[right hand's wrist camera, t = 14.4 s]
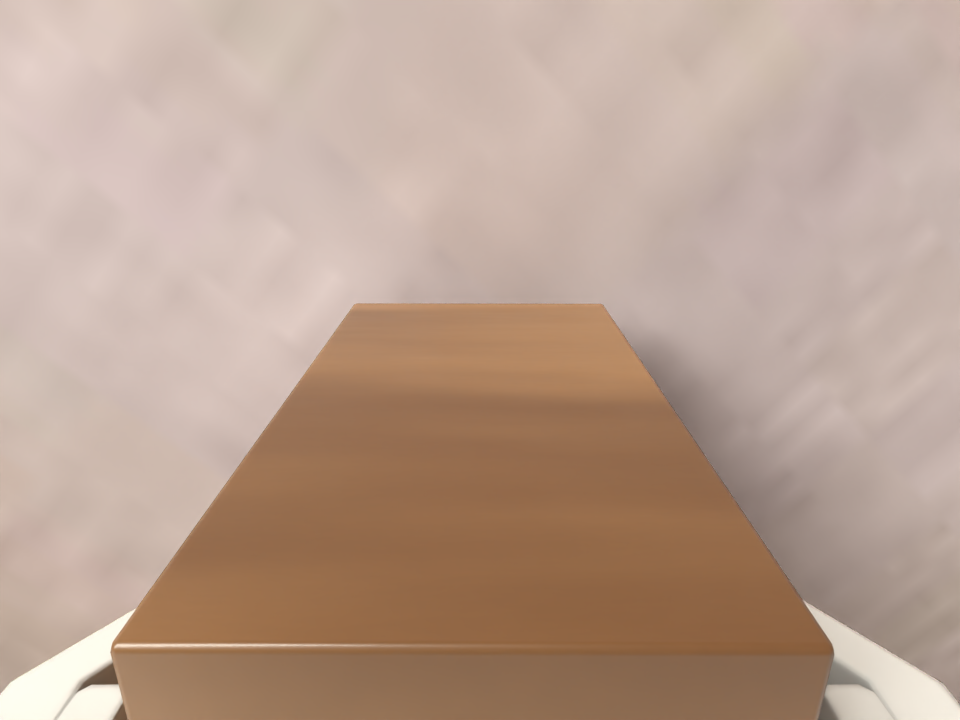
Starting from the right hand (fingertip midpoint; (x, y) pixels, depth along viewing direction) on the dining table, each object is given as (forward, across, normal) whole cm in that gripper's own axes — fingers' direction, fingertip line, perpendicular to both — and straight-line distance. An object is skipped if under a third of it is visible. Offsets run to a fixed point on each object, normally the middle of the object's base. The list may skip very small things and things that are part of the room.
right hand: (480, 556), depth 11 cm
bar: (+4, 0, -8) cm, 9 cm away
